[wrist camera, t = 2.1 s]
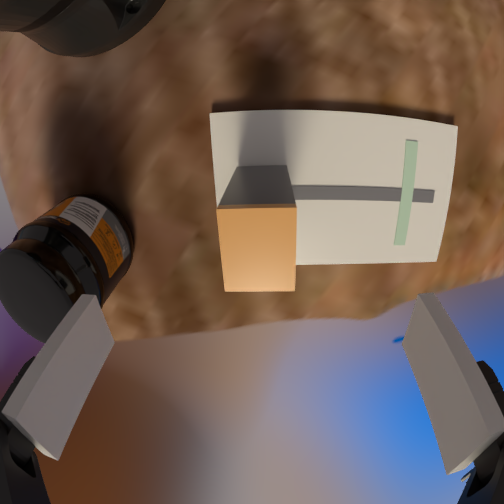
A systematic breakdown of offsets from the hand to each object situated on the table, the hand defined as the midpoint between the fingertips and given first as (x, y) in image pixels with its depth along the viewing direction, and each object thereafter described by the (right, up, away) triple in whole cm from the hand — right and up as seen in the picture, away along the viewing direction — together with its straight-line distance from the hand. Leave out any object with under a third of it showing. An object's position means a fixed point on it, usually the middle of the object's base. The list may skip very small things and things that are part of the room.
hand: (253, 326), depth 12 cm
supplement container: (-17, +5, +18) cm, 25 cm away
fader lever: (+1, +8, +13) cm, 16 cm away
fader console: (+8, +8, +14) cm, 18 cm away
